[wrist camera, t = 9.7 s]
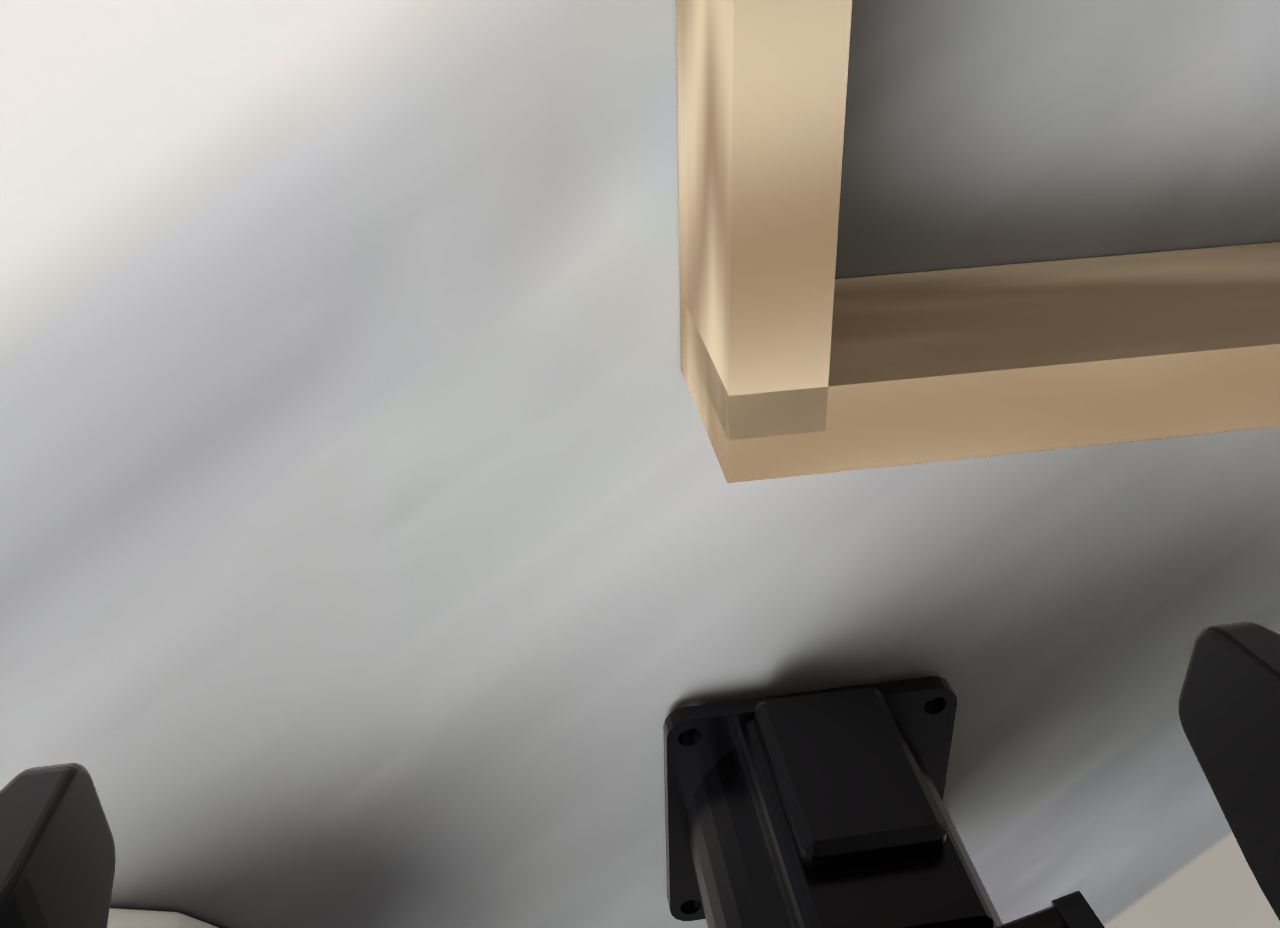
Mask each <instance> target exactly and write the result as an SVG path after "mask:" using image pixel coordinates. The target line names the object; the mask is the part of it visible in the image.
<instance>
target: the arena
mask: <svg viewBox="0 0 1280 928" xmlns="http://www.w3.org/2000/svg"><path fill="white" fill-rule="evenodd" d="M851 12H852V0H677V35H678V134H679V233H680V331H681V371H682V373H683V376H684V378H685V380H686V383H687V385H688V388H689V390H690V393H691V395H692V397H693V400H694V402H695V405H696V407H697V410H698V412H699V414H700V417H701V419H702V422H703V424H704V427H705V429H706V432H707V434H708V436H709V439H710V441H711V444H712V446H713V449H714V451H715V453H716V456H717V458H718V461H719V463H720V466H721V468H722V471H723V473H724V475H725V478H726V480H727V483H733V482H742V481H752V480H762V479H771V478H781V477H791V476H800V475H810V474H820V473H829V472H839V471H849V470H858V469H868V468H878V467H887V466H897V465H907V464H916V463H926V462H936V461H945V460H955V459H965V458H974V457H984V456H994V455H1003V454H1013V453H1023V452H1032V451H1042V450H1052V449H1061V448H1071V447H1081V446H1090V445H1100V444H1110V443H1120V442H1129V441H1139V440H1149V439H1158V438H1168V437H1178V436H1187V435H1197V434H1207V433H1216V432H1226V431H1236V430H1245V429H1255V428H1265V427H1274V426H1280V242H1272V243H1260V244H1248V245H1236V246H1224V247H1212V248H1200V249H1189V250H1177V251H1165V252H1153V253H1141V254H1129V255H1117V256H1105V257H1093V258H1081V259H1070V260H1058V261H1046V262H1034V263H1022V264H1010V265H998V266H986V267H974V268H962V269H951V270H939V271H927V272H915V273H903V274H891V275H879V276H867V277H855V278H843V279H835V270H836V254H837V238H838V221H839V205H840V189H841V173H842V157H843V141H844V125H845V109H846V93H847V77H848V61H849V45H850V29H851Z"/></svg>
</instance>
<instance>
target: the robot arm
mask: <svg viewBox="0 0 1280 928" xmlns="http://www.w3.org/2000/svg"><path fill="white" fill-rule="evenodd" d="M934 697H937V698H935V699H934V700H933V701H930V702H927V701H928V700H929V699H931V698H934ZM956 705H957V699H956V695H955V693H954V692H953V690H952V688H951V686H950V685H949V683H948V682H947V681H946V679H943V678H941V677H937V676H929V677H921V678H913V679H905V680H897V681H889V682H881V683H873V684H865V685H857V686H849V687H841V688H833V689H825V690H817V691H809V692H801V693H793V694H785V695H777V696H769V697H761V698H753V699H746V700H738V701H730V702H722V703H714V704H706V705H698V706H690V707H684V708H680V709H677V710H675V711H674V712H672V713H671V714H670V715H669V716H668V717H667V718H666V720H665V723H664V727H663V730H664V775H665V819H666V863H667V898H668V902H669V907H670V911H671V914H672V916H673V917H675V918H676V919H678V920H682V921H693V920H700V919H706V921H707V925H708V928H1104V926H1103V925H1102V923H1101V922H1100V920H1099V919H1098V917H1097V916H1096V914H1095V913H1094V912H1093V910H1092V909H1091V907H1090V906H1089V904H1088V903H1087V901H1086V900H1085V898H1084V897H1083V895H1082V894H1081V893H1080V891H1076V892H1074V893H1071V894H1068V895H1066V896H1063V897H1060V898H1058V899H1055V900H1053V901H1051V902H1052V906H1051V907H1049V908H1046V909H1043V910H1041V911H1038V912H1035V913H1033V914H1030V915H1027V916H1025V917H1022V918H1019V919H1017V920H1014V921H1012V922H1009V923H1006V924H1004V925H1003V924H1002V922H1001V920H1000V918H999V916H998V914H997V912H996V910H995V907H994V905H993V903H992V901H991V899H990V897H989V895H988V893H987V891H986V889H985V887H984V885H983V883H982V881H981V879H980V877H979V875H978V873H977V871H976V869H975V867H974V865H973V863H972V861H971V859H970V857H969V855H968V853H967V851H966V849H965V846H964V844H963V842H962V840H961V838H960V836H959V834H958V832H957V830H956V828H955V826H954V824H953V822H952V820H951V818H950V816H949V814H948V812H947V810H946V808H945V806H944V804H943V802H942V800H943V793H944V786H945V780H946V773H947V766H948V759H949V753H950V746H951V739H952V732H953V726H954V719H955V712H956ZM1179 715H1180V720H1181V724H1182V727H1183V730H1184V732H1185V734H1186V736H1187V738H1188V740H1189V742H1190V745H1191V747H1192V749H1193V751H1194V753H1195V755H1196V757H1197V759H1198V761H1199V763H1200V765H1201V767H1202V769H1203V771H1204V774H1205V776H1206V778H1207V780H1208V782H1209V784H1210V786H1211V788H1212V790H1213V792H1214V794H1215V796H1216V798H1217V801H1218V803H1219V805H1220V807H1221V809H1222V811H1223V813H1224V815H1225V817H1226V819H1227V821H1228V823H1229V825H1230V827H1231V830H1232V832H1233V834H1234V836H1235V838H1236V839H1237V842H1238V844H1239V846H1240V848H1241V850H1242V852H1243V854H1244V857H1245V859H1246V861H1247V863H1248V865H1249V866H1250V868H1251V870H1252V872H1253V874H1254V876H1255V878H1256V880H1257V882H1258V884H1259V886H1260V888H1261V889H1262V891H1263V893H1264V895H1265V896H1266V898H1267V900H1268V901H1269V903H1270V905H1271V907H1272V908H1273V910H1274V912H1275V914H1276V915H1277V917H1278V919H1279V920H1280V635H1279V634H1277V633H1275V632H1273V631H1271V630H1269V629H1267V628H1265V627H1263V626H1260V625H1258V624H1255V623H1251V622H1241V623H1233V624H1224V625H1216V626H1210V627H1207V628H1205V629H1203V630H1202V632H1201V633H1200V634H1199V635H1198V636H1197V638H1196V641H1195V644H1194V648H1193V651H1192V655H1191V658H1190V662H1189V665H1188V669H1187V672H1186V676H1185V680H1184V683H1183V687H1182V690H1181V694H1180V698H1179ZM688 728H694V730H693V731H691V732H688V733H681V732H682V731H683V730H685V729H688ZM114 872H115V846H114V840H113V836H112V833H111V830H110V828H109V825H108V822H107V819H106V817H105V814H104V811H103V808H102V806H101V803H100V800H99V797H98V795H97V792H96V789H95V787H94V784H93V781H92V778H91V776H90V774H89V772H88V771H87V770H86V768H85V767H84V766H82V765H80V764H76V763H69V764H61V765H52V766H44V767H36V768H31V769H27V770H25V771H23V772H21V773H20V774H19V775H17V776H16V777H15V778H14V779H13V780H12V781H11V782H9V783H8V784H7V785H6V786H5V787H4V788H3V789H2V790H1V791H0V928H107V924H108V917H109V909H110V902H111V894H112V887H113V880H114Z"/></svg>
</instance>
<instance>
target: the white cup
mask: <svg viewBox="0 0 1280 928" xmlns="http://www.w3.org/2000/svg"><path fill="white" fill-rule="evenodd" d="M107 928H219V927H216V926H213V925H211V924H208V923H206V922H203V921H200V920H198V919H195V918H192V917H190V916H187V915H184V914H182V913H178V912H166V911H152V910H135V909H115V908H110V909H109V917H108V924H107Z"/></svg>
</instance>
